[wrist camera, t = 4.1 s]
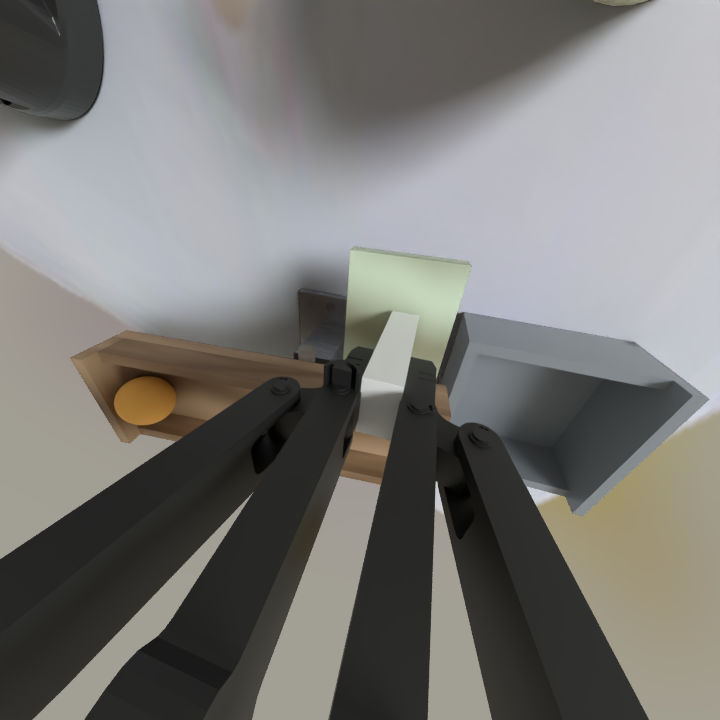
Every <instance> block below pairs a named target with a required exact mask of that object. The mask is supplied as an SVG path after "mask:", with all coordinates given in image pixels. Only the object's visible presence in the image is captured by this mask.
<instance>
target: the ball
mask: <svg viewBox="0 0 720 720" xmlns="http://www.w3.org/2000/svg"><path fill="white" fill-rule="evenodd" d="M175 404H176V393H175V390H174V388H173V387H172V386H171V385H170V384H169V383H168V382H167V381H165V380H163V379H161V378H158V377H153V376H143V377H138V378H135V379H132V380H130V381H128V382H127V383H125V384H124V385H123V386H122V387H121V388H120V389H119V390H118V392H117V393H116V396H115V399H114V407H115V410H116V412H117V414H118V415H119V416H120V417H121V418H122V419H123V420H125V421H126V422H128V423H131V424H135V425H150V424H154V423H157V422H159V421H161V420H163V419H164V418H166V417H167V416H168V415H169V414H170V413H171V412H172V410H173V409H174V407H175Z"/></svg>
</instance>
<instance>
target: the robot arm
mask: <svg viewBox="0 0 720 720" xmlns="http://www.w3.org/2000/svg"><path fill="white" fill-rule="evenodd" d="M102 67H103V43H102V31H101V23H100V17H99V11H98V6H97V1H96V0H0V104H2V105H4V106H7V107H9V108H11V109H14V110H17V111H20V112H23V113H27V114H31V115H36V116H41V117H46V118H51V119H56V120H71V119H75V118H77V117H79V116H81V115H82V114H84V113H85V112H86V111H87V110H88V109H89V108H90V106H91V105H92V103H93V102H94V100H95V98H96V95H97V93H98V90H99V86H100V82H101V76H102ZM418 320H419V316H418V315H413V314H408V313H402V312H397V311H392V313H391V315H390V318H389V320H388V322H387V324H386V326H385V328H384V331H383V333H382V335H381V337H380V339H379V342H378V344H377V346H376V348H375V350H374V349H369V348H365V347H360V346H358V347H356V348H354V349H352V350H351V351H350V353H349V354H348V356H347V358H346V359H345V360H342V359H339V360H332V361H330V362H327V363H326V364H325V365H324V376H323V385H322V387H319V388H300V384H299V382H298V381H297V380H295V379H294V378H291V377H282V376H280V377H275V378H272V379H270V380H268V381H266V382H265V383H263V384H262V385H260V386H259V387H257V388H256V389H254V390H253V391H251V392H250V393H248V394H247V395H245V396H244V397H242V398H241V399H239V400H238V401H236V402H235V403H233V404H232V405H230V406H229V407H227V408H226V409H224V410H223V411H221V412H220V413H218V414H217V415H215V416H214V417H212V418H211V419H209V420H208V421H206V422H205V423H203V424H202V425H200V426H199V427H197V428H196V429H194V430H193V431H191V432H190V433H188V434H187V435H186V436H184V437H183V438H181V439H180V440H178V441H177V442H175V443H174V444H172V445H171V446H169V447H168V448H166V449H165V450H163V451H162V452H160V453H159V454H157V455H156V456H154V457H153V458H151V459H150V460H148V461H147V462H145V463H144V464H142V465H141V466H139V467H138V468H136V469H135V470H133V471H132V472H130V473H129V474H127V475H126V476H124V477H123V478H121V479H120V480H118V481H117V482H115V483H114V484H112V485H111V486H109V487H108V488H106V489H105V490H103V491H102V492H100V493H99V494H97V495H96V496H94V497H93V498H92V499H90V500H88V501H87V502H85V503H84V504H82V505H81V506H79V507H78V508H76V509H75V510H73V511H72V512H70V513H69V514H67V515H66V516H64V517H63V518H61V519H60V520H58V521H57V522H55V523H54V524H53V525H51V526H50V527H48V528H46V529H45V530H44V531H42V532H40V533H39V534H38V535H36V536H34V537H33V538H32V539H30V540H28V541H27V542H25V543H24V544H22V545H21V546H20V547H18V548H17V549H15V550H14V551H12V552H11V553H9V554H8V555H6V556H5V557H3V558H2V559H0V720H32V719H33V718H34V717H35V716H37V715H38V713H40V712H41V711H42V710H43V709H44V708H45V707H46V705H48V704H49V703H50V702H51V701H52V700H53V699H54V698H55V697H56V696H57V695H58V694H59V693H60V692H61V691H62V690H63V689H64V688H65V687H66V686H67V685H68V684H69V683H70V682H71V681H72V680H73V679H74V678H75V677H76V676H77V674H78V673H80V671H81V670H82V669H83V668H84V667H85V666H86V665H87V664H88V663H89V662H90V661H91V660H92V659H93V658H94V657H95V656H96V655H97V654H98V653H99V652H100V651H101V650H102V649H103V648H104V647H105V645H106V644H107V643H108V642H109V641H110V640H111V639H112V638H113V637H114V636H115V635H116V634H117V633H118V632H119V631H120V630H121V629H122V628H123V627H124V626H125V625H126V624H127V623H128V622H129V620H131V618H132V617H133V616H134V615H135V614H136V613H137V612H138V611H139V610H140V609H141V608H142V607H143V606H144V605H145V604H146V603H147V602H148V601H149V600H150V599H151V598H152V596H153V595H155V594H156V592H157V591H158V590H159V589H160V588H161V587H162V586H163V585H164V584H165V583H166V582H167V581H168V580H169V579H170V578H171V577H172V576H173V575H174V574H175V573H176V572H177V571H178V570H179V568H181V567H182V565H183V564H184V563H185V562H186V561H187V560H188V559H189V558H190V557H191V556H192V555H193V554H194V553H195V552H196V551H197V550H198V549H199V548H200V547H201V545H203V543H205V542H206V541H207V539H208V538H209V537H210V536H211V535H212V534H213V533H214V532H215V531H216V530H217V529H218V528H219V527H220V526H221V525H222V524H223V523H224V522H225V521H226V520H227V519H228V518H229V517H230V516H231V514H232V513H233V512H234V511H235V510H236V509H237V508H238V507H239V506H240V505H241V504H242V503H243V502H244V501H245V500H246V499H247V498H248V497H249V496H250V495H251V494H252V493H253V494H252V496H251V497H250V499H249V500H248V502H247V503H246V505H245V507H244V508H243V509H242V511H241V513H240V514H239V516H238V517H237V519H236V520H235V522H234V523H233V525H232V527H231V528H230V530H229V531H228V533H227V535H226V536H225V538H224V539H223V540H222V542H221V544H220V545H219V547H218V548H217V550H216V552H215V553H214V555H213V556H212V558H211V559H210V561H209V562H208V564H207V565H206V567H205V569H204V570H203V572H202V573H201V575H200V576H199V578H198V579H197V581H196V582H195V584H194V586H193V587H192V589H191V590H190V592H189V593H188V595H187V597H186V598H185V599H184V601H183V603H182V604H181V606H180V607H179V609H178V610H177V612H176V613H175V615H174V617H173V618H172V619H171V621H170V622H169V624H168V625H167V626H166V628H165V629H164V630H163V631H162V632H161V633H160V634H159V636H157V637H156V638H155V639H153V640H152V641H151V642H149V643H148V644H147V645H145V646H144V647H142V648H141V649H139V650H138V651H137V652H136V653H135V654H134V655H133V656H132V657H131V658H130V659H129V660H128V662H127V663H126V664H125V665H124V666H123V667H122V668H121V669H120V671H119V672H118V673H117V675H116V676H115V677H114V679H113V680H112V681H111V683H110V684H109V685H108V687H107V688H106V689H105V691H104V692H103V693H102V695H101V696H100V698H99V699H98V701H97V702H96V704H95V705H94V706H93V708H92V709H91V711H90V712H89V714H88V715H87V717H86V718H85V720H252V717H253V713H254V708H255V704H256V700H257V696H258V693H259V690H260V687H261V684H262V681H263V679H264V676H265V673H266V670H267V668H268V665H269V662H270V660H271V657H272V654H273V652H274V649H275V646H276V644H277V641H278V639H279V636H280V633H281V630H282V628H283V625H284V623H285V620H286V617H287V615H288V612H289V609H290V607H291V604H292V601H293V598H294V596H295V593H296V590H297V588H298V585H299V582H300V580H301V577H302V574H303V572H304V569H305V566H306V564H307V561H308V558H309V556H310V553H311V550H312V548H313V545H314V542H315V540H316V537H317V534H318V532H319V529H320V526H321V524H322V521H323V518H324V516H325V513H326V510H327V508H328V505H329V502H330V500H331V497H332V494H333V491H334V489H335V486H336V483H337V481H338V478H339V476H340V473H341V470H342V468H343V465H344V462H345V460H346V457H347V454H348V452H349V449H350V446H351V444H352V439H353V432H354V430H355V427H356V431H357V432H361V433H364V434H368V435H372V436H375V437H379V438H383V439H386V440H390V441H391V442H390V447H389V451H388V455H387V460H386V464H385V469H384V473H383V478H382V482H381V487H380V491H379V496H378V500H377V505H376V510H375V514H374V518H373V523H372V527H371V532H370V536H369V540H368V545H367V550H366V554H365V558H364V563H363V567H362V572H361V576H360V581H359V585H358V590H357V595H356V599H355V604H354V608H353V612H352V617H351V621H350V626H349V630H348V634H347V639H346V643H345V648H344V653H343V657H342V661H341V666H340V670H339V675H338V679H337V684H336V688H335V693H334V697H333V701H332V706H331V711H330V715H329V719H328V720H427V718H428V689H429V660H430V631H431V601H432V572H433V542H434V512H435V483H436V481H437V482H438V488H439V493H440V497H441V501H442V506H443V510H444V514H445V519H446V523H447V527H448V532H449V535H450V540H451V544H452V549H453V553H454V557H455V561H456V566H457V570H458V575H459V578H460V583H461V588H462V592H463V596H464V600H465V605H466V609H467V613H468V618H469V622H470V626H471V631H472V635H473V639H474V643H475V648H476V652H477V656H478V661H479V665H480V669H481V674H482V678H483V682H484V687H485V690H486V695H487V700H488V703H489V708H490V712H491V717H492V720H649V719H648V717H647V715H646V713H645V711H644V709H643V708H642V706H641V704H640V702H639V700H638V698H637V696H636V694H635V692H634V690H633V689H632V687H631V685H630V683H629V681H628V679H627V677H626V676H625V673H624V671H623V670H622V668H621V666H620V664H619V662H618V660H617V658H616V656H615V654H614V653H613V651H612V649H611V647H610V645H609V643H608V641H607V640H606V637H605V636H604V634H603V632H602V630H601V628H600V626H599V624H598V622H597V620H596V618H595V617H594V615H593V613H592V611H591V609H590V607H589V605H588V603H587V601H586V600H585V598H584V596H583V594H582V592H581V590H580V588H579V586H578V584H577V582H576V581H575V579H574V577H573V575H572V573H571V571H570V569H569V567H568V565H567V563H566V562H565V560H564V558H563V556H562V554H561V552H560V550H559V548H558V546H557V544H556V543H555V541H554V539H553V537H552V535H551V533H550V531H549V529H548V528H547V526H546V524H545V522H544V520H543V518H542V516H541V514H540V512H539V510H538V508H537V507H536V505H535V503H534V501H533V499H532V497H531V495H530V493H529V491H528V489H527V488H526V486H525V484H524V482H523V480H522V478H521V476H520V474H519V472H518V471H517V469H516V467H515V465H514V463H513V461H512V459H511V457H510V455H509V453H508V452H507V450H506V448H505V446H504V444H503V442H502V440H501V439H500V437H499V436H498V435H497V433H495V432H494V431H493V430H491V429H490V428H489V427H486V426H484V425H482V424H479V423H474V422H470V423H465V424H463V425H461V427H458V426H456V425H454V424H452V423H451V422H449V421H447V420H446V419H444V418H443V417H442V416H441V415H440V414H439V413H438V411H437V407H436V406H435V393H436V371H437V368H436V367H435V365H434V363H433V362H432V361H428V360H424V359H419V358H414V357H411V354H412V349H413V344H414V339H415V335H416V330H417V325H418ZM356 424H357V425H356Z"/></svg>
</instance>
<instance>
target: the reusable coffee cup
mask: <svg viewBox="0 0 720 720" xmlns="http://www.w3.org/2000/svg"><path fill="white" fill-rule="evenodd" d="M593 1H594V2H598V3H602V4H606V5H610V6H624V5H634V4H638V3H641V2H645V1H648V0H593Z"/></svg>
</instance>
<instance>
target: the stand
mask: <svg viewBox="0 0 720 720" xmlns="http://www.w3.org/2000/svg"><path fill="white" fill-rule="evenodd" d="M298 295H299V321H300V346H299V347H301V346H305V345H309V346H312V347H314V348H315V363H318V364H324V365H325V364H326V363H327V362H330V361H332V360H339V359H342V360H343V354H344V339H345V324H346V308H347V297H346V296H340V295H335V294H329V293H324V292H318V291H313V290H307V289H301V290H299V291H298ZM299 347H298V348H299ZM298 348H297V349H296V350H295V351H294V359H295V360H299V359H298Z"/></svg>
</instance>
